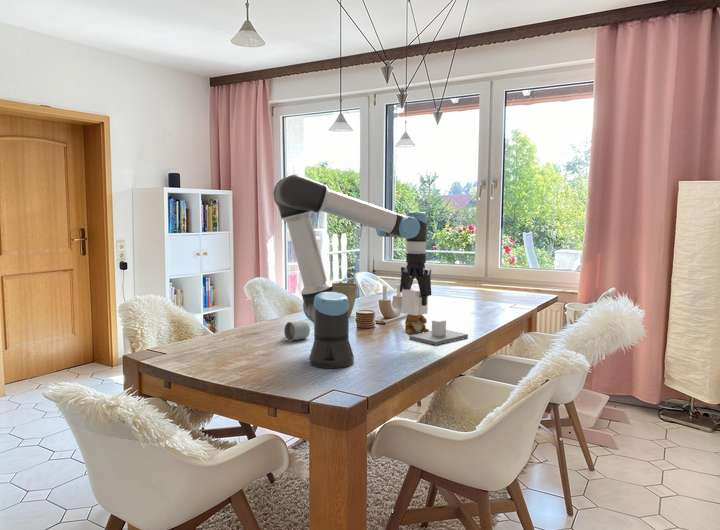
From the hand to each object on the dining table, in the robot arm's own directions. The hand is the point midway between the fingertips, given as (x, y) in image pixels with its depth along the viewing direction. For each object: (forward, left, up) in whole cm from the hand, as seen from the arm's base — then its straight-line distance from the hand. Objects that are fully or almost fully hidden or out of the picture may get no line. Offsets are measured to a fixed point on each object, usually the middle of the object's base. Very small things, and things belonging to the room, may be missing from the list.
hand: (414, 312), depth 200 cm
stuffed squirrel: (+20, +19, -13) cm, 30 cm away
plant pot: (+17, +66, -13) cm, 69 cm away
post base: (+16, +2, -13) cm, 21 cm away
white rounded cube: (0, 0, 0) cm, 0 cm away
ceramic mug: (-29, +39, -13) cm, 51 cm away
